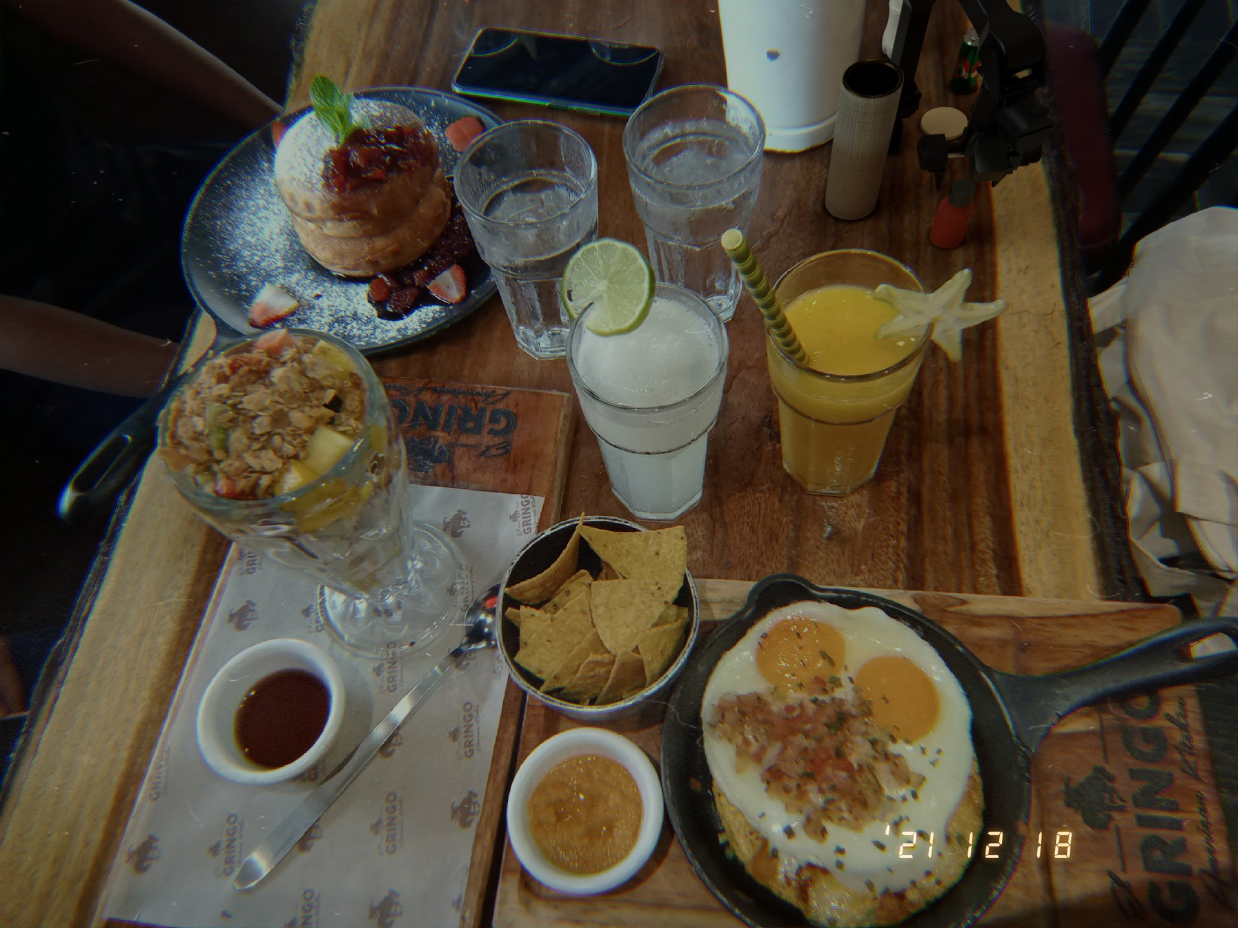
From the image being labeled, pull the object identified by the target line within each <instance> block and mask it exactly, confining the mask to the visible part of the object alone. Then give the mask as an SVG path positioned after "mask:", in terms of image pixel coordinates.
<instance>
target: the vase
mask: <svg viewBox="0 0 1238 928" xmlns="http://www.w3.org/2000/svg"><path fill="white" fill-rule="evenodd" d="M903 81H904V74H903V72H902V70H901V68H900V67H899V66H898V65H897V64H895V63H893V62H891V61H890V59H886V58H880V57H869V58H864V59H860V60H858V61H855V62H853V63H852V64H851V65H849V66H848V67H847V68H846V69H845V70H844V72H843V73H842V77H841V84H840V89H839V90H840V91H839V97H838V104H837V111H836V118H835V126H834V131H833V140H832V147H831V152H830V153H831V154H830V161H829V169H828V173H827V174H828V175H827V183H826V189H825V197H824V205H825V208H826V210H827V212H828V213H829V214H830V215H832V217H835V218H837V219H839V220H843V221H857V220H861V219H863V218H866V217H868V216H869V215H870V214H871V213H872V212H873V211H874V209H875V208H876V204H877V201H878V197H879V193H880V188H881V183H882V179H883V176H884V171H885V166H886V162H887V157H888V154H889V153H888V148H889V144H890V140H891V135H892V131H893V126H894V122H895V117H896V113H897V108H898V104H899V99H900V95H901V91H902V86H903Z"/></svg>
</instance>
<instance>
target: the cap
mask: <svg viewBox="0 0 1238 928" xmlns="http://www.w3.org/2000/svg"><path fill="white" fill-rule="evenodd" d="M976 189H977V186H976V183H975V182H972V181H971V180H970V179H963V178H962V179H958V180H956V181H954V182H953V183H952V184H951V186H950V189H949V192H948V195H947V196H948V201H949V203H950V204H951V205H953V206H955V207H965V206H967V205H969V204H970V203H971V201H972V202H973V198H974V195H975V193H976Z"/></svg>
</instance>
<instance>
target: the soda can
mask: <svg viewBox="0 0 1238 928" xmlns="http://www.w3.org/2000/svg"><path fill="white" fill-rule="evenodd" d="M978 44H979V37H978V35H977V32H976V31H975V29H974V27H973V26H972V27H970V28H969V29H968V30H967V31H966V33H965V34H963V37H962V41H961V45H960V48H959V50H958V51H959V52H958V55H957V57H956V62H955V64H954V69H953V71H952V76H951V79H950V83H949V87H950V89H951V90H952V91H953V92H954V93H956V94H960V95H962V94H963V95H965V94H968V93H971V92H972V91H973V90H974V89H975V88H976V86H977V82H978V79H979V76H980V75H979V73H978V72H977V71H976V67H977V66H979V65H981V62H980V60H979V57H978V55H977V50H978Z"/></svg>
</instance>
